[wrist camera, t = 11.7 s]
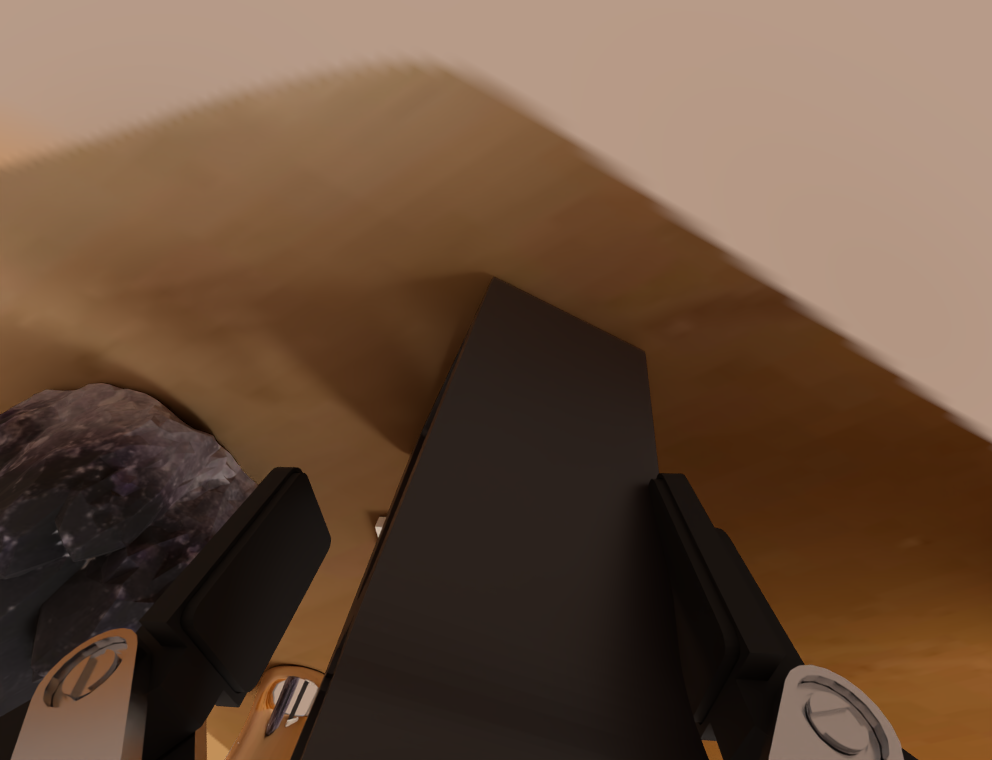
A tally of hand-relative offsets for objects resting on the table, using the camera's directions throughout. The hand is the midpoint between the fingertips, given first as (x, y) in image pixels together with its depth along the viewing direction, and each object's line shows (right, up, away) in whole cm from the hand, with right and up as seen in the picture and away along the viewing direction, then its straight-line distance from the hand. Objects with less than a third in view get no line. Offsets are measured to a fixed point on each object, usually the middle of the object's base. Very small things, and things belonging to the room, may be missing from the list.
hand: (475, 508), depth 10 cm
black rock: (-17, -2, +9) cm, 19 cm away
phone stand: (+1, +2, +5) cm, 6 cm away
